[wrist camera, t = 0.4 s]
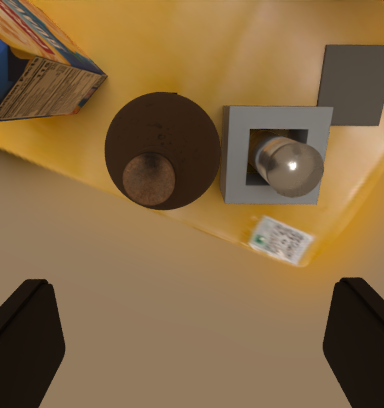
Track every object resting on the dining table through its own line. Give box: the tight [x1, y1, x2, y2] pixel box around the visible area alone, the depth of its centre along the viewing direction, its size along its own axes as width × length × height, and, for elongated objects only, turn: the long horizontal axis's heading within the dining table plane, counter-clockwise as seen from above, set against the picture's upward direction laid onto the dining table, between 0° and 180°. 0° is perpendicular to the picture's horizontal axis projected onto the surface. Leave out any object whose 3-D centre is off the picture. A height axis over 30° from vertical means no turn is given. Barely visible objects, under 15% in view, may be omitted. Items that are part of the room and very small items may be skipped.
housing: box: [220, 106, 333, 204], centre depth 38 cm, size 12×12×7 cm
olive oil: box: [105, 92, 221, 210], centre depth 29 cm, size 11×11×25 cm
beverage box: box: [0, 0, 107, 121], centre depth 27 cm, size 7×11×22 cm, turn 45°
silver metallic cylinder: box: [247, 130, 324, 198], centre depth 34 cm, size 6×6×14 cm
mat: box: [317, 45, 384, 126], centre depth 38 cm, size 10×9×1 cm
